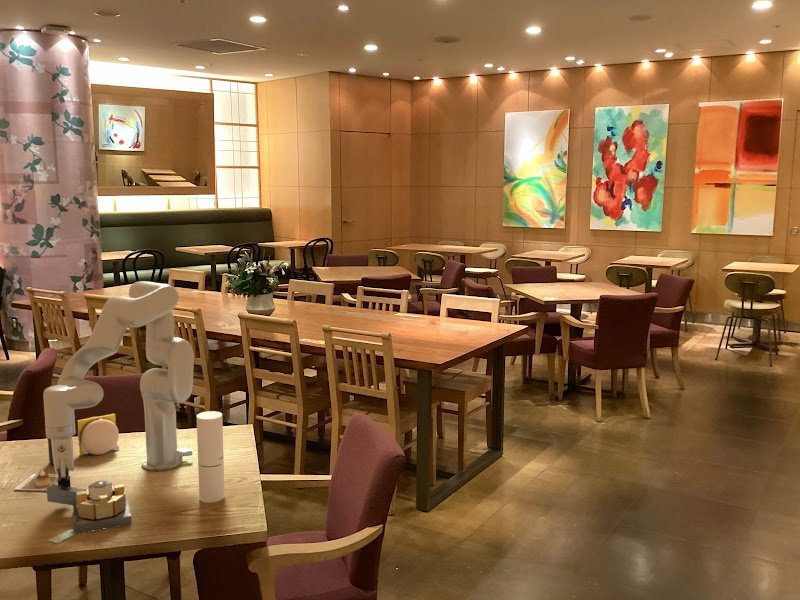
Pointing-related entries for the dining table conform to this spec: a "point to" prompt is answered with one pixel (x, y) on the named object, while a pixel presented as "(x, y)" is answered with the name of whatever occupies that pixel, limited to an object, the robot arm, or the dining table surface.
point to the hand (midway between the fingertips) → (64, 491)
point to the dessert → (38, 480)
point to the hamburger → (98, 435)
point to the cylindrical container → (210, 456)
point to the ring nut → (89, 501)
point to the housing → (95, 524)
